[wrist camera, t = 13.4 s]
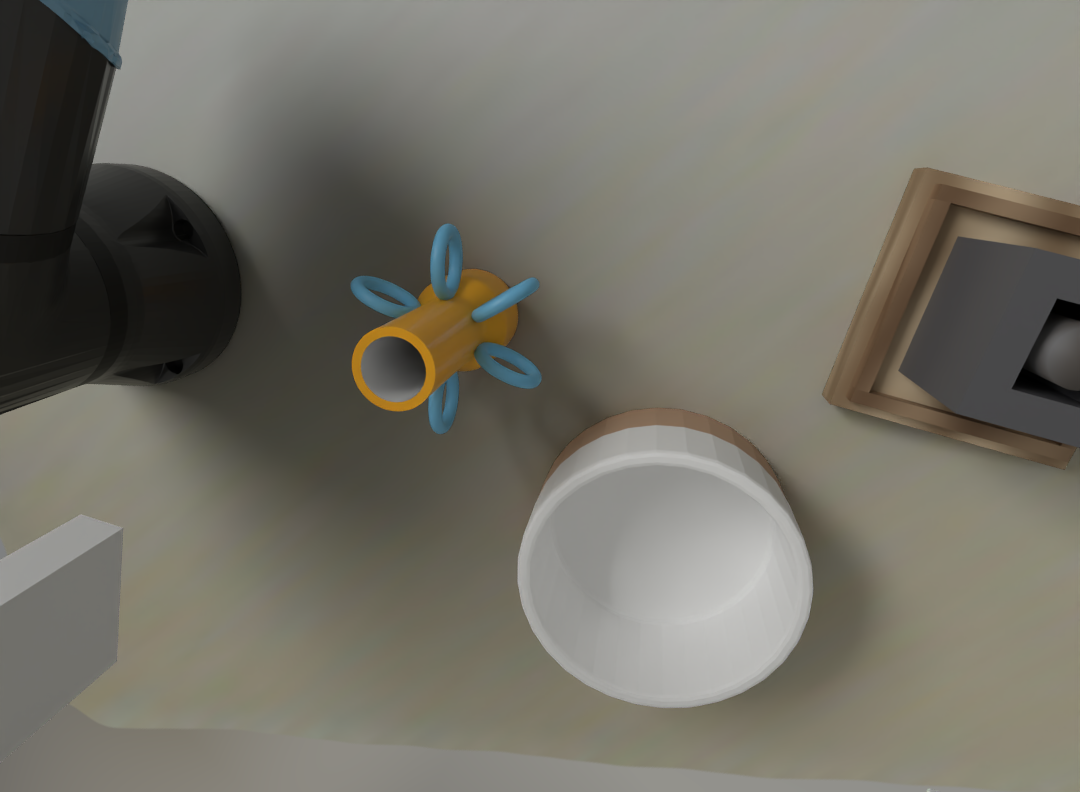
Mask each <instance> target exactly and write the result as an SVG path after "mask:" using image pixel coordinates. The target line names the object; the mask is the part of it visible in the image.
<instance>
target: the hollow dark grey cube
mask: <svg viewBox="0 0 1080 792" xmlns="http://www.w3.org/2000/svg"><path fill="white" fill-rule="evenodd" d="M1050 312H1052V313H1055V314H1059V315H1062V316H1065V317H1068V318H1072V319H1075V320H1078V321H1080V259H1076V258H1073V257H1069V256H1065V255H1061V254H1057V253H1053V252H1049V251H1045V250H1041V249H1038V248H1032V247H1026V246H1019V245H1013V244H1006V243H999V242H993V241H986V240H980V239H973V238H966V237H960V236H958V237H957V239H956V242H955V244H954V246H953V248H952V251H951V253H950V255H949V257H948V260H947V262H946V264H945V266H944V269H943V271H942V273H941V275H940V278H939V280H938V282H937V284H936V287H935V289H934V291H933V293H932V296H931V298H930V300H929V303H928V305H927V307H926V309H925V312H924V314H923V316H922V318H921V321H920V323H919V325H918V327H917V330H916V332H915V334H914V336H913V339H912V341H911V343H910V345H909V348H908V350H907V352H906V354H905V357H904V359H903V361H902V363H901V366H900V368H899V370H898V371H899V372H900V373H902V374H903V375H904V376H906V377H907V378H909V379H910V380H911V381H913V382H914V383H915V384H917V385H918V386H919V387H921V388H922V389H923V390H925V391H926V392H927V393H929V394H930V395H931V396H933V397H934V398H935V399H937V400H938V401H940V402H941V403H942V404H944V405H945V406H946V407H948V408H949V409H950V410H952V411H953V412H954V413H956V414H960V415H963V416H967V417H970V418H974V419H978V420H981V421H985V422H988V423H992V424H996V425H999V426H1003V427H1006V428H1010V429H1013V430H1017V431H1021V432H1024V433H1028V434H1031V435H1035V436H1039V437H1042V438H1046V439H1049V440H1053V441H1057V442H1060V443H1064V444H1067V445H1071V446H1075V447H1078V448H1080V391H1075V390H1069V389H1065V388H1063V387H1061V386H1059V385H1057V384H1055V383H1053V382H1051V381H1048V380H1046V379H1044V378H1042V377H1040V376H1038V375H1036V374H1034V373H1032V372H1030V371H1028V370H1026V369H1024V368H1022V367H1023V365H1024V363H1025V361H1026V359H1027V357H1028V355H1029V353H1030V351H1031V349H1032V347H1033V345H1034V343H1035V341H1036V339H1037V337H1038V335H1039V333H1040V331H1041V329H1042V327H1043V325H1044V323H1045V322H1046V320H1047V318H1048V316H1049V314H1050Z"/></svg>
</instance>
